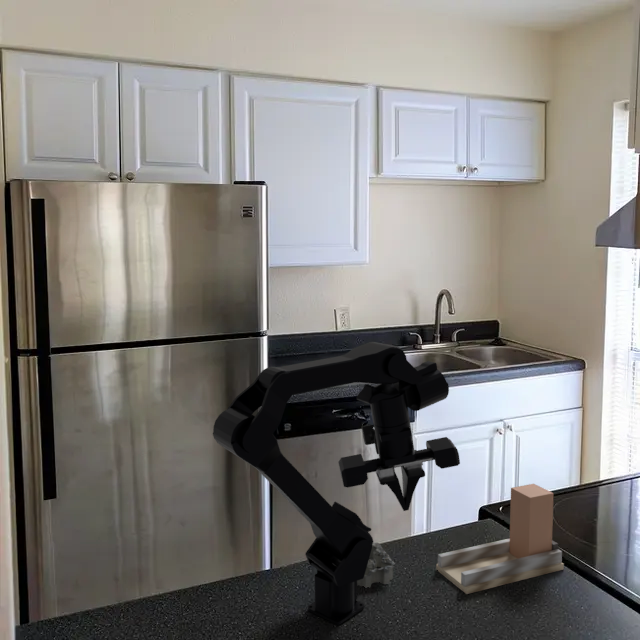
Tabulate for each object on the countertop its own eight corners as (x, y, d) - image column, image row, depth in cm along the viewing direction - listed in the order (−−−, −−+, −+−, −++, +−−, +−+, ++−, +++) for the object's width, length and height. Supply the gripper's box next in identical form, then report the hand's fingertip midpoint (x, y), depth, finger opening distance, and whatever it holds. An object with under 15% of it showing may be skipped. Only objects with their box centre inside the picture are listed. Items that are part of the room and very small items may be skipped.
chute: (466, 594, 107) (466, 570, 106) (436, 569, 115) (436, 547, 114) (563, 569, 114) (564, 547, 114) (528, 547, 123) (529, 527, 122)
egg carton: (336, 562, 119) (336, 540, 118) (376, 556, 121) (376, 534, 120) (355, 591, 108) (355, 567, 108) (398, 585, 110) (398, 561, 110)
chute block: (528, 565, 114) (530, 497, 112) (509, 552, 118) (510, 487, 117) (551, 559, 116) (553, 493, 114) (531, 547, 120) (533, 483, 119)
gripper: (436, 393, 113) (448, 476, 117) (328, 414, 112) (343, 497, 116) (454, 415, 102) (466, 507, 106) (335, 439, 102) (351, 530, 105)
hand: (405, 509), depth 108 cm, fingers closed
